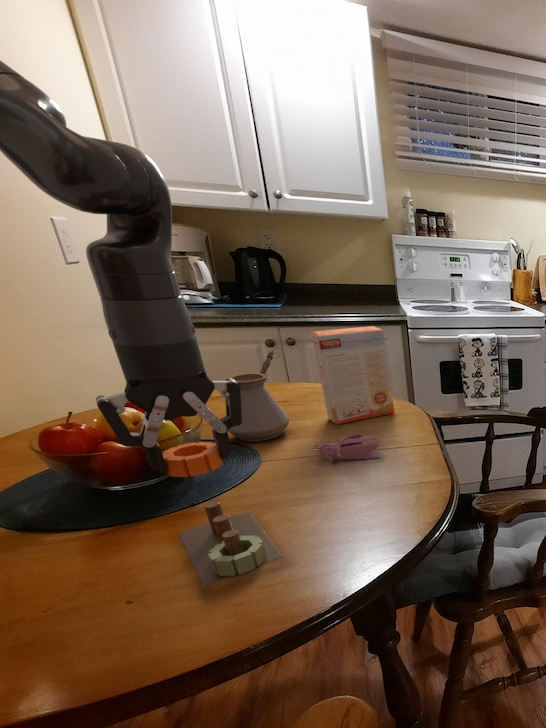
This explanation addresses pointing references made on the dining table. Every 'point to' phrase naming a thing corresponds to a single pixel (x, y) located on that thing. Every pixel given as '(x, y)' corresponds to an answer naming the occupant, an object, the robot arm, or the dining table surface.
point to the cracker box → (353, 373)
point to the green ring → (238, 557)
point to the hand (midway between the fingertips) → (194, 463)
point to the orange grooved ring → (192, 459)
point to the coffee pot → (258, 408)
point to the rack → (218, 531)
